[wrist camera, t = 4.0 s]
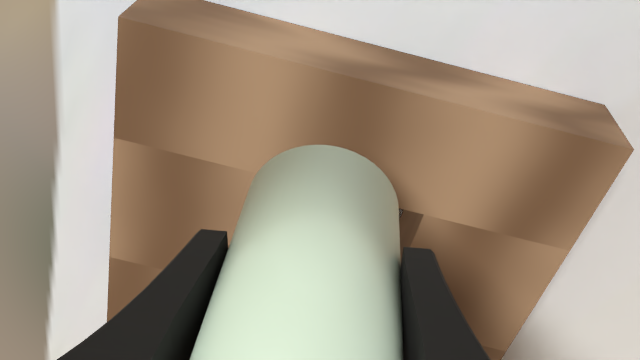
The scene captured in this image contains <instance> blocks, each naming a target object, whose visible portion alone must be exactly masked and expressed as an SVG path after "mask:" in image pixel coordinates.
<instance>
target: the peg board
mask: <svg viewBox="0 0 640 360" xmlns="http://www.w3.org/2000/svg"><path fill="white" fill-rule="evenodd" d="M307 145H330V146H336V147H340V148H344V149H348V150H350V151H353V152H356V153H358V154H359V155H361V156H363V157H365V158H367V159H368V160H370V161H371V162H373V163H374V164H375V165H376V166H377V167H378V168H380V169H381V170H382V172H383V173H384V174H385V175H386V176H387V178H388V179H389V181H390V182H391V184H392V186H393V188H394V190H395V192H396V196H397V199H398V206H399V209H403V212H402V215H401V217H400V220H399V230H400V263H401V260H402V253H403V247H413V248H424V249H431V250H432V251H433V252H434V253H435V256H436V259H437V262H438V264H439V267H440V269H441V271H442V274H443V276H444V278H445V280H446V283H447V285H448V287H449V289H450V291H451V293H452V295H453V297H454V299H455V301H456V303H457V305H458V306H459V308H460V310H461V312H462V314H463V315H464V317H465V319H466V321H467V323H468V324H469V326H470V328H471V329H472V331H473V333H474V334H475V336H476V338H477V339H478V341H479V342H480V344H481V345H482V347H483V349H484V350H485V352H486V353H487V355H488V356H489V358H490V359H491V360H501V358H502V357H503V355H504V354H505V352H506V351H507V349H508V347H509V346H510V344H511V343H512V341H513V340H514V338H515V336H516V335H517V333H518V332H519V330H520V329H521V327H522V325H523V324H524V322H525V321H526V319H527V317H528V316H529V314H530V313H531V311H532V310H533V308H534V306H535V305H536V303H537V302H538V300H539V299H540V297H541V295H542V294H543V292H544V291H545V289H546V287H547V286H548V284H549V283H550V281H551V280H552V278H553V276H554V275H555V273H556V272H557V270H558V269H559V267H560V265H561V264H562V262H563V261H564V259H565V258H566V256H567V254H568V253H569V251H570V250H571V248H572V246H573V245H574V243H575V242H576V240H577V239H578V237H579V235H580V234H581V232H582V231H583V229H584V228H585V226H586V224H587V223H588V221H589V220H590V218H591V217H592V215H593V213H594V212H595V210H596V209H597V207H598V205H599V204H600V202H601V201H602V199H603V198H604V196H605V194H606V193H607V191H608V190H609V188H610V187H611V185H612V183H613V182H614V180H615V179H616V177H617V175H618V174H619V172H620V171H621V169H622V168H623V166H624V164H625V163H626V161H627V160H628V158H629V157H630V155H631V153H632V152H633V150H634V149H633V147H632V146H631V144H630V143H629V141H628V140H627V138H626V137H625V135H624V134H623V132H622V131H621V129H620V128H619V126H618V124H617V123H616V121H615V120H614V118H613V117H612V115H611V114H610V112H609V111H608V109H607V108H606V106H605V105H602V104H599V103H595V102H591V101H587V100H583V99H579V98H576V97H572V96H568V95H564V94H560V93H557V92H553V91H549V90H545V89H541V88H537V87H534V86H530V85H526V84H522V83H518V82H514V81H511V80H507V79H503V78H499V77H495V76H491V75H488V74H484V73H480V72H476V71H472V70H468V69H465V68H461V67H457V66H453V65H449V64H445V63H442V62H438V61H434V60H430V59H426V58H422V57H419V56H415V55H411V54H407V53H403V52H399V51H396V50H392V49H388V48H384V47H380V46H376V45H373V44H369V43H365V42H361V41H357V40H353V39H350V38H346V37H342V36H338V35H334V34H330V33H327V32H323V31H319V30H315V29H311V28H307V27H304V26H300V25H296V24H292V23H288V22H284V21H281V20H277V19H273V18H269V17H265V16H261V15H258V14H254V13H250V12H246V11H242V10H238V9H235V8H231V7H227V6H223V5H219V4H215V3H212V2H208V1H204V0H137V1H136V2H134V3H133V4H132V5H131V6H130V7H129V8H128V9H127V10H125V11H124V12H123V13H122V14H121V15H120V16H119V17H118V39H117V66H116V93H115V120H114V147H113V174H112V202H111V229H110V256H109V283H108V310H107V322H108V321H109V320H110V319H111V318H113V317H114V316H115V315H116V314H117V313H118V312H120V311H121V310H122V309H123V308H124V307H125V306H126V305H127V304H128V303H129V302H131V301H132V300H133V299H134V298H135V297H136V296H137V295H138V294H139V293H140V292H141V291H142V290H143V289H145V288H146V287H147V286H148V285H149V284H150V282H151V281H152V280H153V279H154V278H155V277H156V276H157V275H158V274H159V273H160V272H161V271H162V270H163V269H164V268H165V267H166V266H167V265H168V264H169V263H170V262H171V261H172V260H173V259H174V258H175V257H176V255H177V254H178V253H179V252H180V251H181V250H182V249H183V248H184V247H185V245H186V244H187V243H188V242H189V241H190V240H191V239H192V237H193V236H194V235H195V234H196V233H197V232H198V231H199V230H201V229H207V230H218V231H227V237H228V248H229V245H230V242H231V239H232V236H233V234H234V231H235V228H236V225H237V222H238V219H239V216H240V214H241V211H242V208H243V205H244V202H245V199H246V196H247V194H248V191H249V188H250V185H251V183H252V180H253V179H254V177H255V175H256V174H257V172H258V171H259V170H260V169H261V167H262V166H263V165H265V164H266V163H267V162H268V161H269V160H270V159H272V158H273V157H275V156H276V155H278V154H280V153H282V152H284V151H287V150H290V149H293V148H296V147H301V146H307Z"/></svg>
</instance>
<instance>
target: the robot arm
mask: <svg viewBox="0 0 640 360" xmlns="http://www.w3.org/2000/svg"><path fill="white" fill-rule="evenodd" d="M227 251H228V237H227V231H218V230H207V229H201V230H199V231H198V232H197V233H196V234H195V235H194V236H193V237H192V239H191V240H190V241H189V242H188V243H187V244H186V245H185V247H184V248H183V249H182V250H181V251H180V252H179V253H178V254H177V255H176V257H175V258H174V259H173V260H172V261H171V262H170V263H169V264H168V265H167V266H166V267H165V268H164V269H163V270H162V271H161V272H160V273H159V274H158V275H157V276H156V277H155V278H154V279H153V280H152V281H151V282H150V284H149V285H148V286H147V287H146V288H145V289H143V290H142V291H141V292H140V293H139V294H138V295H137V296H136V297H135V298H134V299H133V300H132V301H131V302H129V303H128V304H127V305H126V306H125V307H124V308H123V309H122V310H121V311H120V312H118V313H117V314H116V315H115V316H114V317H113V318H111V319H110V320H109V321H108V322H107V323H106V324H104V325H103V326H102V327H101V328H99V329H98V330H97V331H96V332H94V333H93V334H92V335H90V336H89V337H88V338H87V339H85V340H84V341H83V342H81V343H80V344H79V345H77V346H76V347H74V348H73V349H71V350H70V351H69V352H67V353H66V354H64V355H63V356H62V357H60V358H59V359H57V360H189V359H190V357H191V354H192V351H193V348H194V345H195V342H196V339H197V337H198V334H199V331H200V328H201V325H202V322H203V319H204V316H205V314H206V311H207V308H208V305H209V302H210V299H211V296H212V294H213V291H214V288H215V285H216V282H217V279H218V276H219V274H220V271H221V268H222V265H223V262H224V259H225V256H226V254H227ZM401 299H402V330H403V360H491V359H490V358H489V356H488V355H487V353H486V352H485V350H484V349H483V347H482V345H481V344H480V342H479V341H478V339H477V338H476V336H475V334H474V333H473V331H472V329H471V328H470V326H469V324H468V323H467V321H466V319H465V317H464V315H463V314H462V312H461V310H460V308H459V306H458V305H457V303H456V301H455V299H454V297H453V295H452V293H451V291H450V289H449V287H448V285H447V283H446V280H445V278H444V276H443V274H442V271H441V269H440V267H439V264H438V262H437V259H436V256H435V253H434V252H433V251H432V250H431V249H424V248H413V247H403V253H402V260H401Z"/></svg>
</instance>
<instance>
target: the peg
mask: <svg viewBox="0 0 640 360" xmlns="http://www.w3.org/2000/svg"><path fill="white" fill-rule="evenodd" d="M189 360H403V330H402V299H401V263H400V230H399V206H398V199H397V196H396V192H395V190H394V188H393V186H392V184H391V182H390V181H389V179H388V178H387V176H386V175H385V174H384V173H383V172H382V170H381V169H380V168H378V167H377V166H376V165H375V164H374V163H373V162H371V161H370V160H368V159H367V158H365V157H363V156H361V155H359V154H358V153H356V152H353V151H350V150H348V149H344V148H340V147H336V146H330V145H307V146H301V147H296V148H293V149H290V150H287V151H284V152H282V153H280V154H278V155H276V156H275V157H273V158H272V159H270V160H269V161H268V162H267V163H266V164H265V165H263V166H262V167H261V169H260V170H259V171H258V172H257V174H256V175H255V177H254V179H253V180H252V183H251V185H250V188H249V191H248V194H247V196H246V199H245V202H244V205H243V208H242V211H241V214H240V216H239V219H238V222H237V225H236V228H235V231H234V234H233V236H232V239H231V242H230V245H229V248H228V251H227V254H226V256H225V259H224V262H223V265H222V268H221V271H220V274H219V276H218V279H217V282H216V285H215V288H214V291H213V294H212V296H211V299H210V302H209V305H208V308H207V311H206V314H205V316H204V319H203V322H202V325H201V328H200V331H199V334H198V337H197V339H196V342H195V345H194V348H193V351H192V354H191V357H190V359H189Z"/></svg>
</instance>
